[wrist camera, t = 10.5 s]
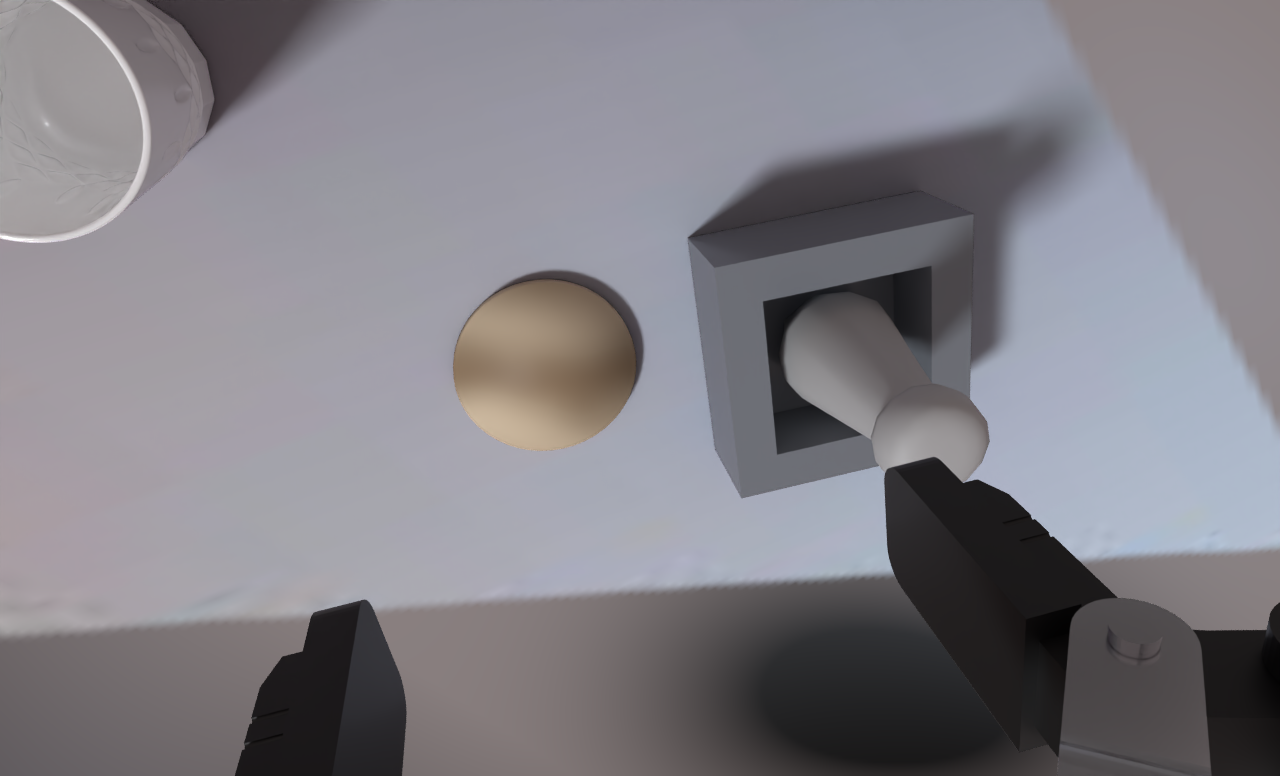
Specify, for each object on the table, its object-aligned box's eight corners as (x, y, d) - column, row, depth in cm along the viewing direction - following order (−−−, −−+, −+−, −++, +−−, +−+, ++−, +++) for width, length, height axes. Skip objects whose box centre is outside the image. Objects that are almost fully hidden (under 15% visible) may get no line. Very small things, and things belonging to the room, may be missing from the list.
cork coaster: (432, 300, 40) (432, 304, 40) (618, 262, 41) (620, 265, 41) (477, 462, 44) (477, 467, 44) (646, 423, 45) (648, 429, 45)
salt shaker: (849, 256, 42) (994, 357, 31) (889, 346, 45) (1037, 470, 33) (746, 317, 43) (851, 439, 31) (792, 403, 45) (905, 545, 34)
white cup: (202, 209, 37) (119, 279, 28) (-6, 134, 34) (-171, 184, 25) (253, 30, 35) (179, 43, 26) (33, -66, 32) (-134, -88, 23)
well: (687, 238, 41) (714, 267, 37) (920, 190, 43) (973, 214, 38) (715, 449, 47) (741, 498, 42) (921, 402, 48) (968, 444, 43)
